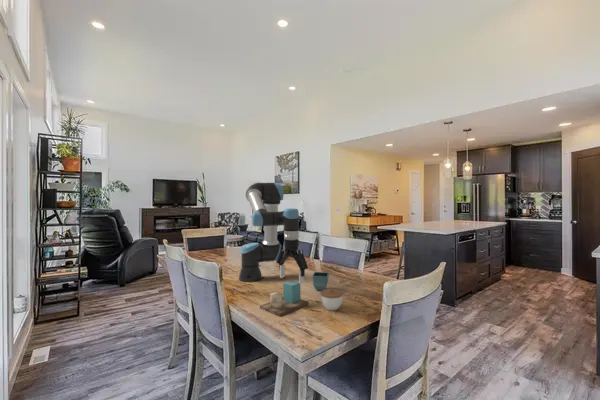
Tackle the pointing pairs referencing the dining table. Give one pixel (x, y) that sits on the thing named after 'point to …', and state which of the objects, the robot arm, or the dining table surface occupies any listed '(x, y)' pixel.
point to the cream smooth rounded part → (276, 300)
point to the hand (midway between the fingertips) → (291, 280)
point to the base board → (284, 307)
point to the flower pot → (320, 280)
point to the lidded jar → (332, 298)
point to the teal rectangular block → (291, 292)
